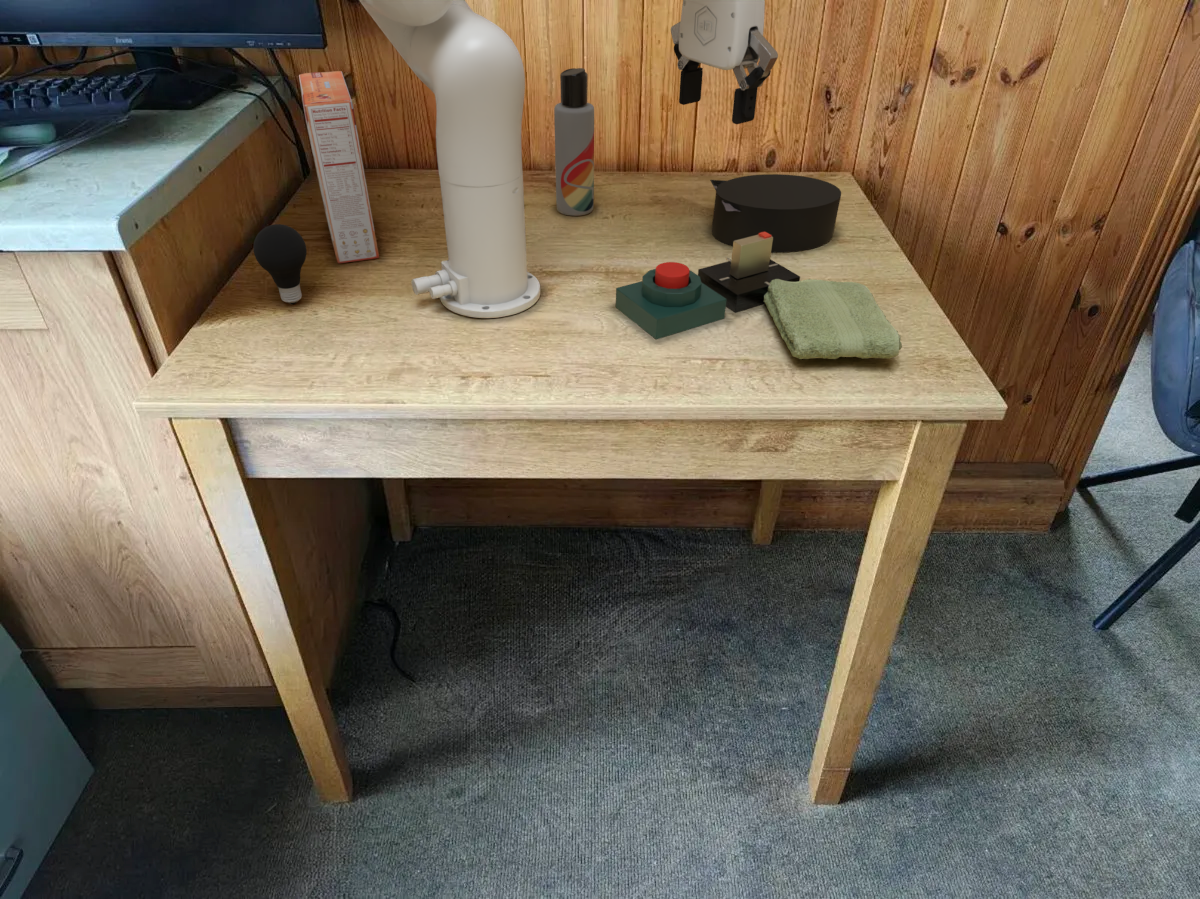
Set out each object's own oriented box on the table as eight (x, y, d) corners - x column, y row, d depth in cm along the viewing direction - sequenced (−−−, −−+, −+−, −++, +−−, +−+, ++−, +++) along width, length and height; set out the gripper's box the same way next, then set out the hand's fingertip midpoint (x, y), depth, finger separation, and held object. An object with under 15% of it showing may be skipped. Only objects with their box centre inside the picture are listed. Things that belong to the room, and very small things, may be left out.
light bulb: (267, 317, 100) (246, 239, 94) (269, 295, 105) (249, 218, 99) (318, 311, 102) (300, 233, 96) (317, 290, 106) (301, 214, 100)
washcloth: (862, 294, 106) (866, 270, 104) (905, 364, 91) (911, 338, 89) (758, 296, 106) (761, 272, 104) (785, 366, 91) (789, 340, 89)
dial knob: (737, 279, 104) (741, 243, 101) (729, 274, 105) (733, 238, 102) (768, 270, 106) (773, 235, 103) (760, 265, 107) (765, 230, 104)
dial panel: (738, 315, 102) (740, 295, 101) (693, 285, 108) (695, 266, 107) (800, 296, 106) (803, 277, 105) (754, 268, 112) (756, 249, 111)
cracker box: (327, 225, 122) (296, 72, 109) (369, 220, 124) (344, 68, 111) (334, 265, 112) (301, 101, 99) (380, 260, 113) (354, 97, 100)
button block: (656, 340, 97) (658, 305, 95) (615, 307, 103) (616, 274, 101) (724, 319, 101) (728, 285, 99) (681, 289, 108) (684, 256, 105)
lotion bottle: (593, 217, 125) (594, 75, 113) (555, 216, 126) (551, 74, 113) (594, 202, 130) (595, 64, 118) (557, 201, 130) (554, 63, 118)
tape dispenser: (843, 258, 118) (857, 206, 113) (718, 252, 116) (727, 199, 111) (814, 220, 129) (826, 171, 125) (700, 214, 127) (707, 165, 123)
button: (667, 293, 98) (668, 279, 97) (648, 279, 100) (649, 266, 99) (695, 285, 99) (696, 272, 98) (675, 272, 102) (676, 259, 101)
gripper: (654, -53, 98) (648, 100, 108) (760, -33, 87) (742, 136, 97) (702, -58, 101) (692, 91, 112) (810, -39, 90) (787, 124, 101)
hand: (715, 112), depth 104 cm, fingers open, 9 cm apart
